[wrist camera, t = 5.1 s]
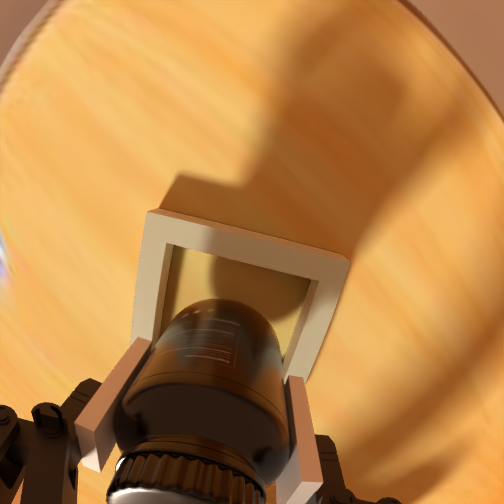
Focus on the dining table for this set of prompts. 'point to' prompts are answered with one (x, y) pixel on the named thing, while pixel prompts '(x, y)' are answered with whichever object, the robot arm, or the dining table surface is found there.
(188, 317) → the supplement bottle
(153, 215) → the frame
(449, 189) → the dining table surface
